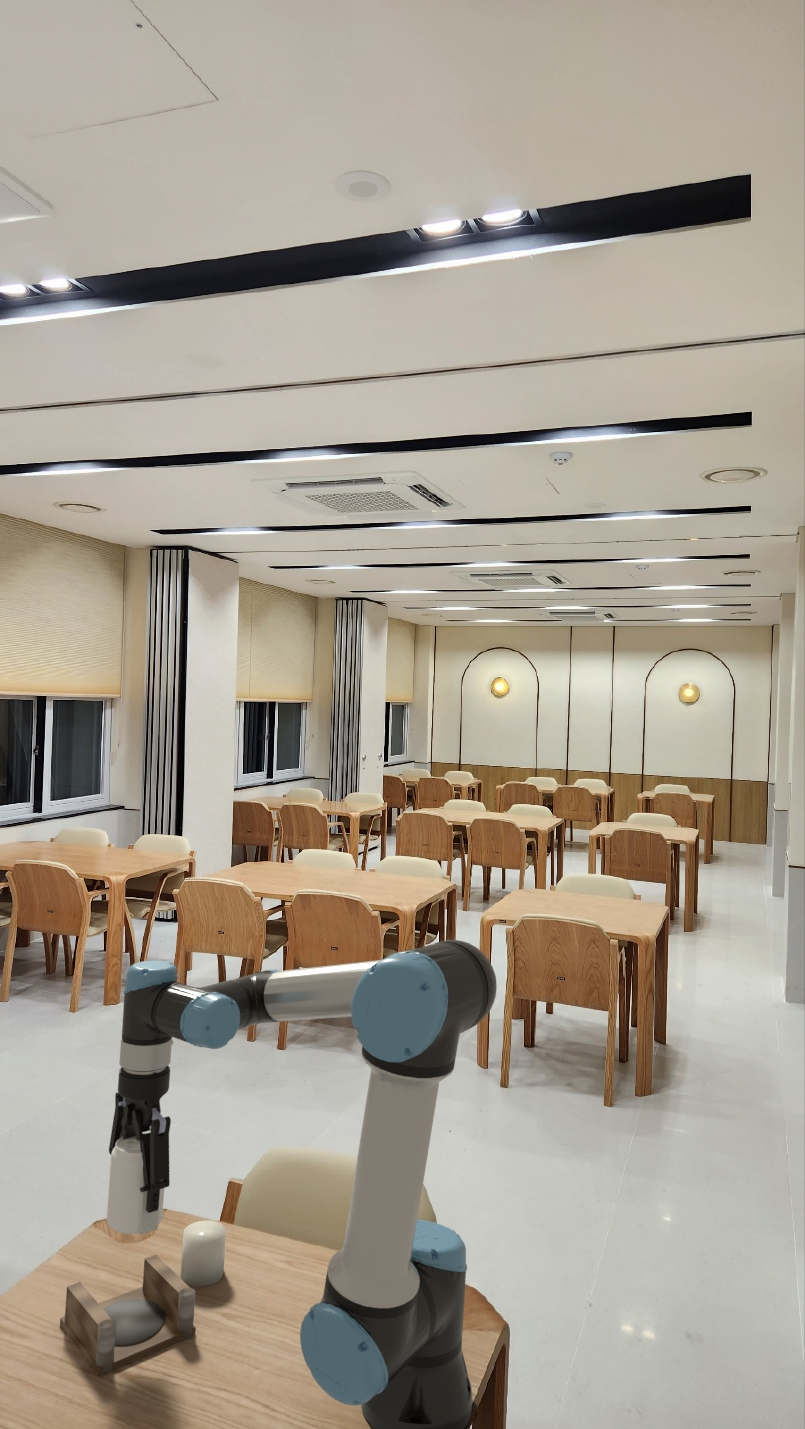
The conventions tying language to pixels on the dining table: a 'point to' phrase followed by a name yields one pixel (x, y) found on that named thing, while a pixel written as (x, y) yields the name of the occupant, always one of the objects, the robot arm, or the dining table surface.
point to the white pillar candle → (203, 1253)
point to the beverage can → (127, 1187)
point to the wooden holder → (130, 1318)
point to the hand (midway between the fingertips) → (134, 1218)
